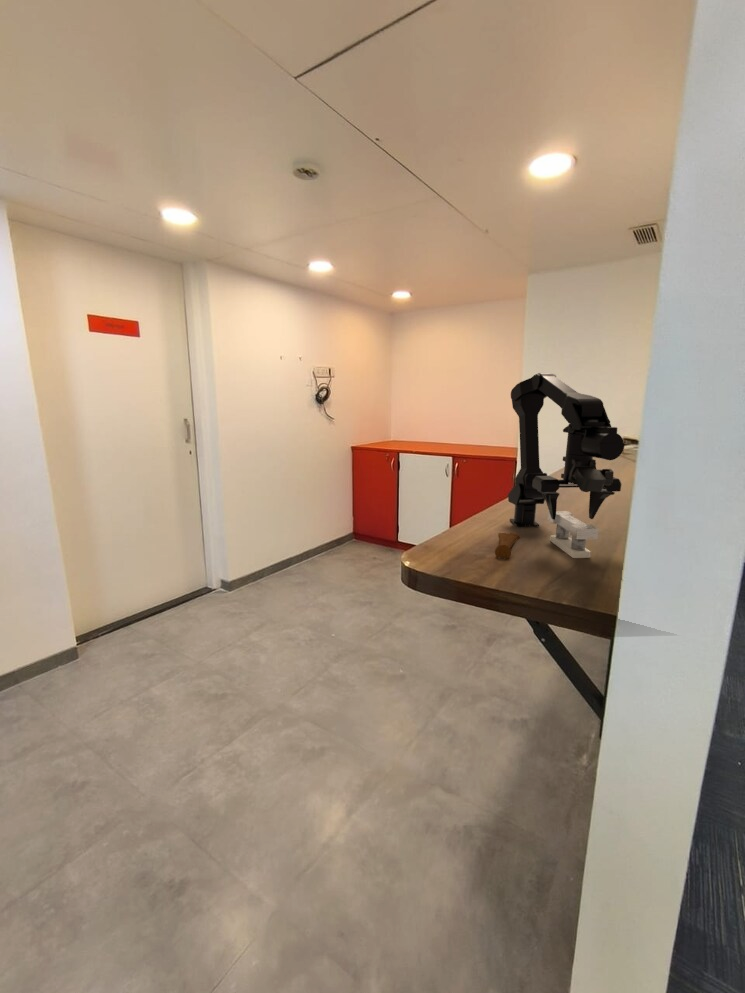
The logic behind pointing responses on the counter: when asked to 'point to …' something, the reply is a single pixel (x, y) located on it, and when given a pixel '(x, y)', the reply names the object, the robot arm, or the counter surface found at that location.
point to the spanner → (574, 525)
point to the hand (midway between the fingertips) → (572, 519)
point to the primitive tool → (505, 544)
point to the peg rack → (570, 544)
